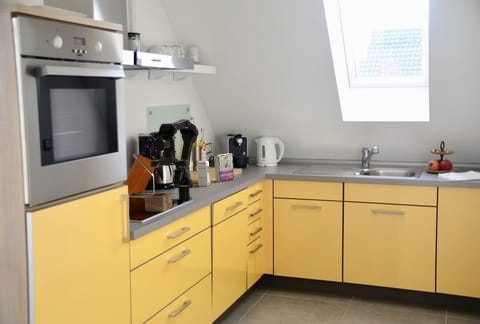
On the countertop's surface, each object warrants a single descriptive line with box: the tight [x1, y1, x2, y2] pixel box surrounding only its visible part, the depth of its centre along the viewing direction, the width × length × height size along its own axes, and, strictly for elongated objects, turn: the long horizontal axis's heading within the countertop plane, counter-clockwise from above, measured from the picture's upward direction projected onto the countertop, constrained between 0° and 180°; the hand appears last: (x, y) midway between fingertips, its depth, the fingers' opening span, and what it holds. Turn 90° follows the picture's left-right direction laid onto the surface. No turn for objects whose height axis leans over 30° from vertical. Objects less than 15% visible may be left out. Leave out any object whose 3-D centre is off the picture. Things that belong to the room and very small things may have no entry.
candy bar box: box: [213, 152, 235, 183], centre depth 364 cm, size 11×5×16 cm, turn 131°
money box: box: [144, 192, 173, 213], centre depth 283 cm, size 11×9×7 cm
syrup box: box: [196, 160, 211, 187], centre depth 349 cm, size 6×6×14 cm
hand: (170, 180), depth 291 cm, fingers open, 9 cm apart
